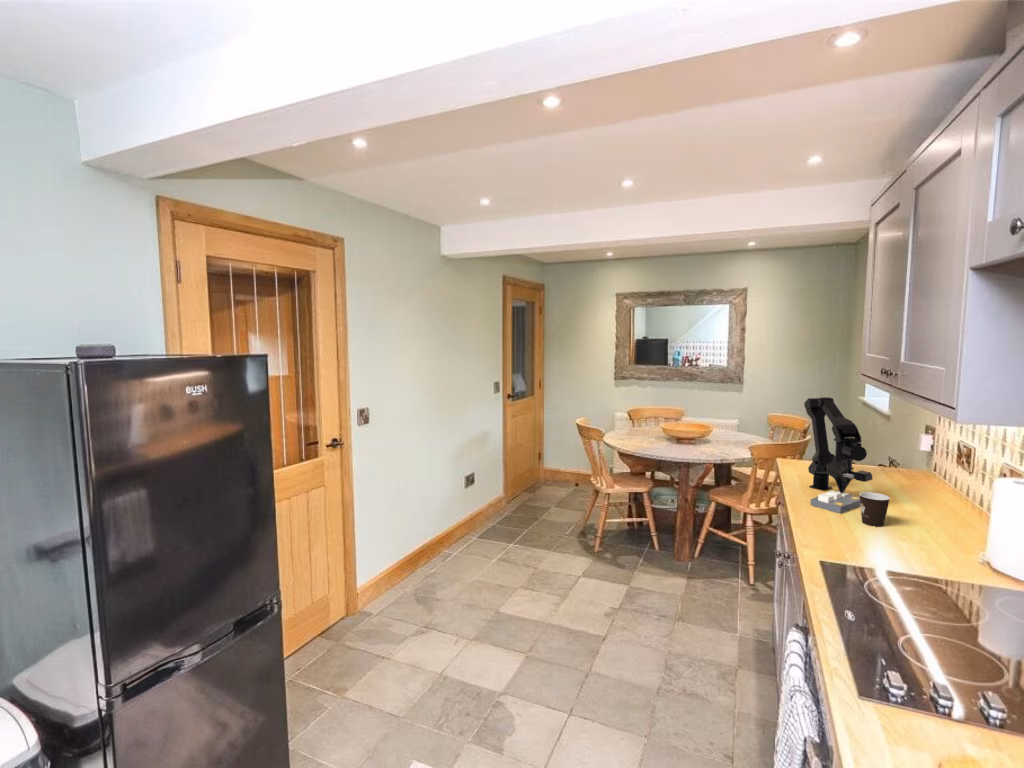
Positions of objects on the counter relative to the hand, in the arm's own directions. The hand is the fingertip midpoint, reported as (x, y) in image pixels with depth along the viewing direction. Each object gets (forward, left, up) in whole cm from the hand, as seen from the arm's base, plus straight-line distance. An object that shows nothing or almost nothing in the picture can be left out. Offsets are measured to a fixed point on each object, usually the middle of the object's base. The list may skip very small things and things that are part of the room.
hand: (841, 492), depth 203 cm
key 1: (+12, 0, -2) cm, 12 cm away
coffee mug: (+14, +18, -4) cm, 23 cm away
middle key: (+6, 0, -2) cm, 6 cm away
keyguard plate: (+6, +2, -3) cm, 7 cm away
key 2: (0, 0, -3) cm, 3 cm away
